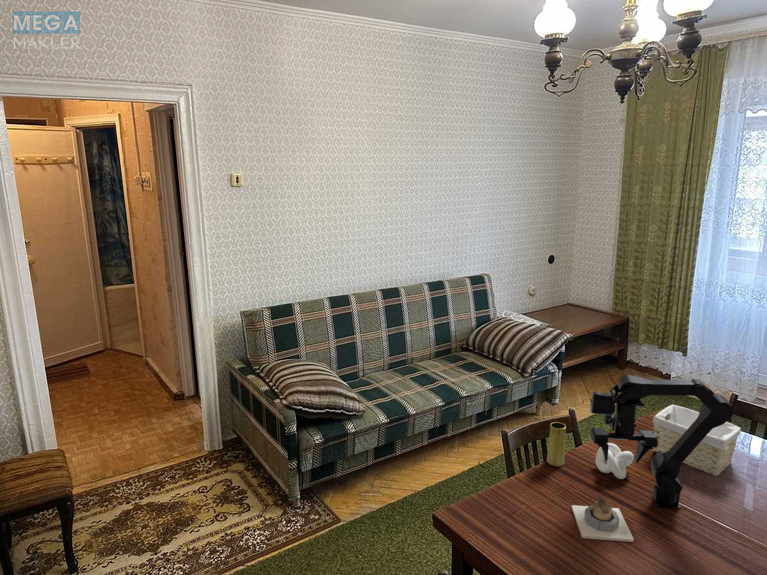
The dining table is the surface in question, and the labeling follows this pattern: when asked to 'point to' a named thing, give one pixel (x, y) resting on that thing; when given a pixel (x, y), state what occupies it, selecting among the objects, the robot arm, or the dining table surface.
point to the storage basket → (710, 451)
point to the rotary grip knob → (602, 510)
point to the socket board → (601, 525)
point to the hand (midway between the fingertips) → (620, 461)
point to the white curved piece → (614, 461)
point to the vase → (556, 444)
